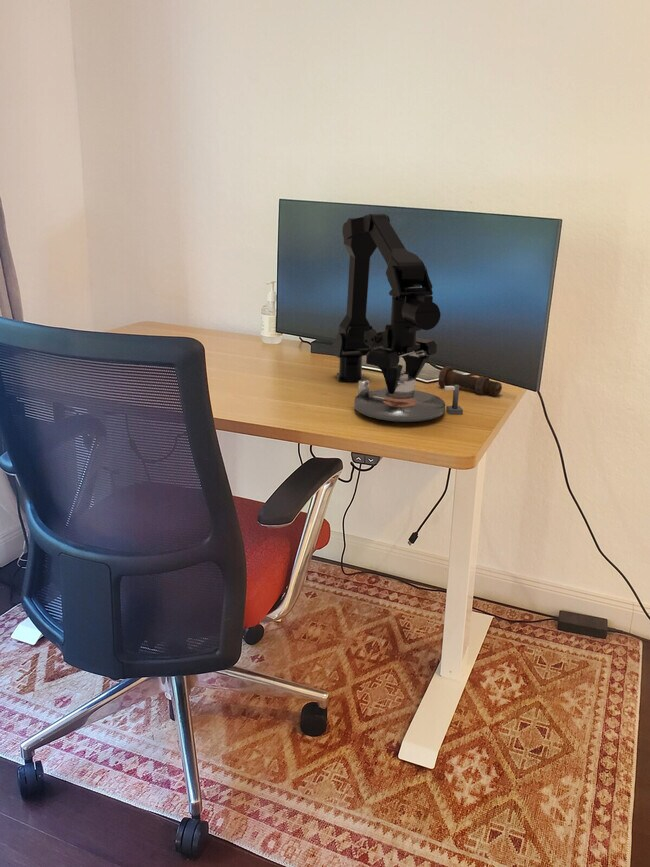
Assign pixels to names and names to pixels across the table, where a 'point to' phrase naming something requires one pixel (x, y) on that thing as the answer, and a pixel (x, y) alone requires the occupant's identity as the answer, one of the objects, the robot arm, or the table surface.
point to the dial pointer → (454, 400)
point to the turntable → (397, 405)
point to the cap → (403, 387)
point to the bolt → (468, 382)
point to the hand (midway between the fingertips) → (400, 390)
